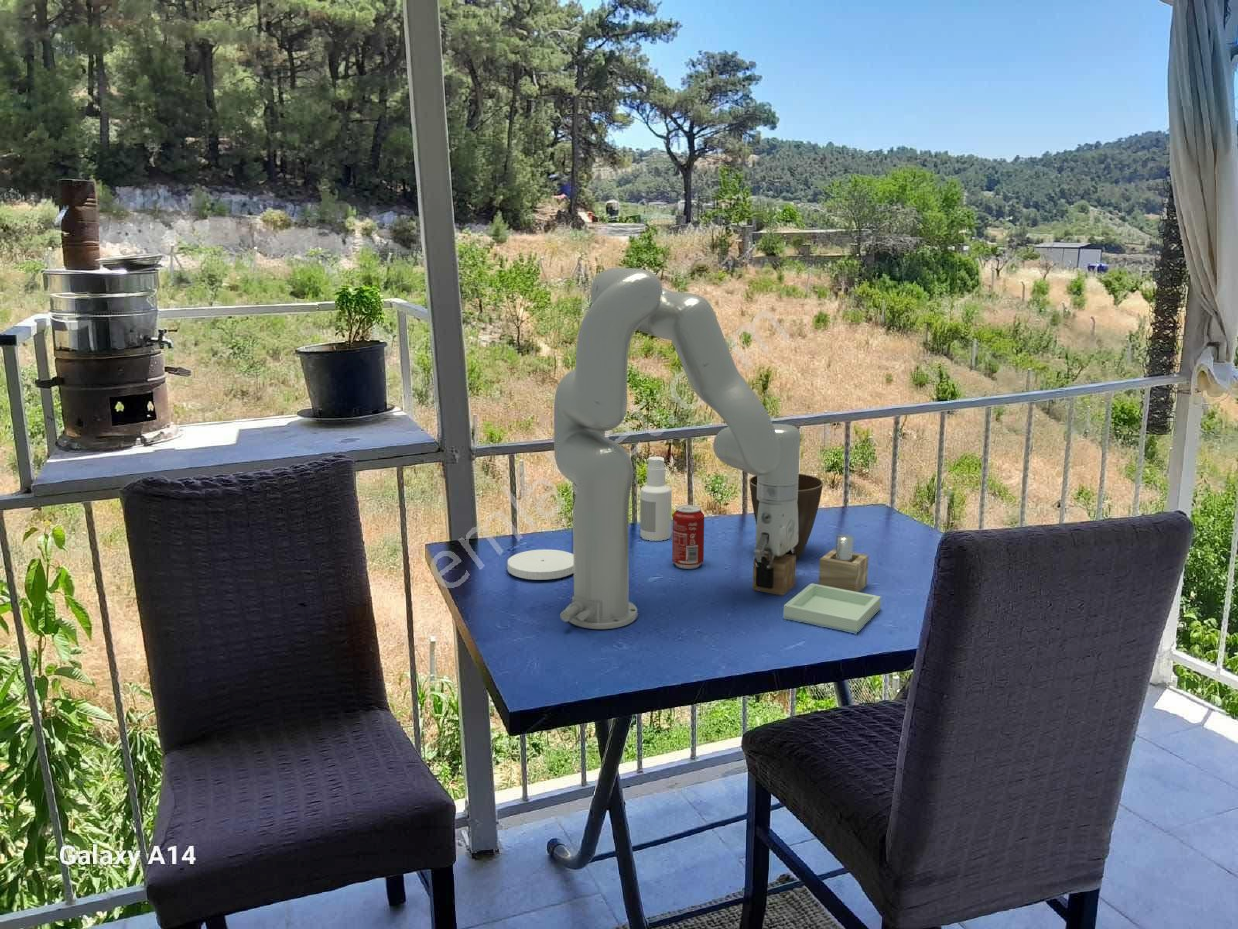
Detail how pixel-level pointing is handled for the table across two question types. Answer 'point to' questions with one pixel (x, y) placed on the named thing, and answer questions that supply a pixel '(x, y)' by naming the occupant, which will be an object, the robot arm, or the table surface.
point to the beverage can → (688, 537)
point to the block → (779, 574)
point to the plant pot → (806, 507)
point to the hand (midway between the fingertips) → (774, 579)
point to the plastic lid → (541, 564)
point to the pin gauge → (844, 548)
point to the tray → (832, 607)
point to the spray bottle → (655, 503)
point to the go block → (843, 572)
